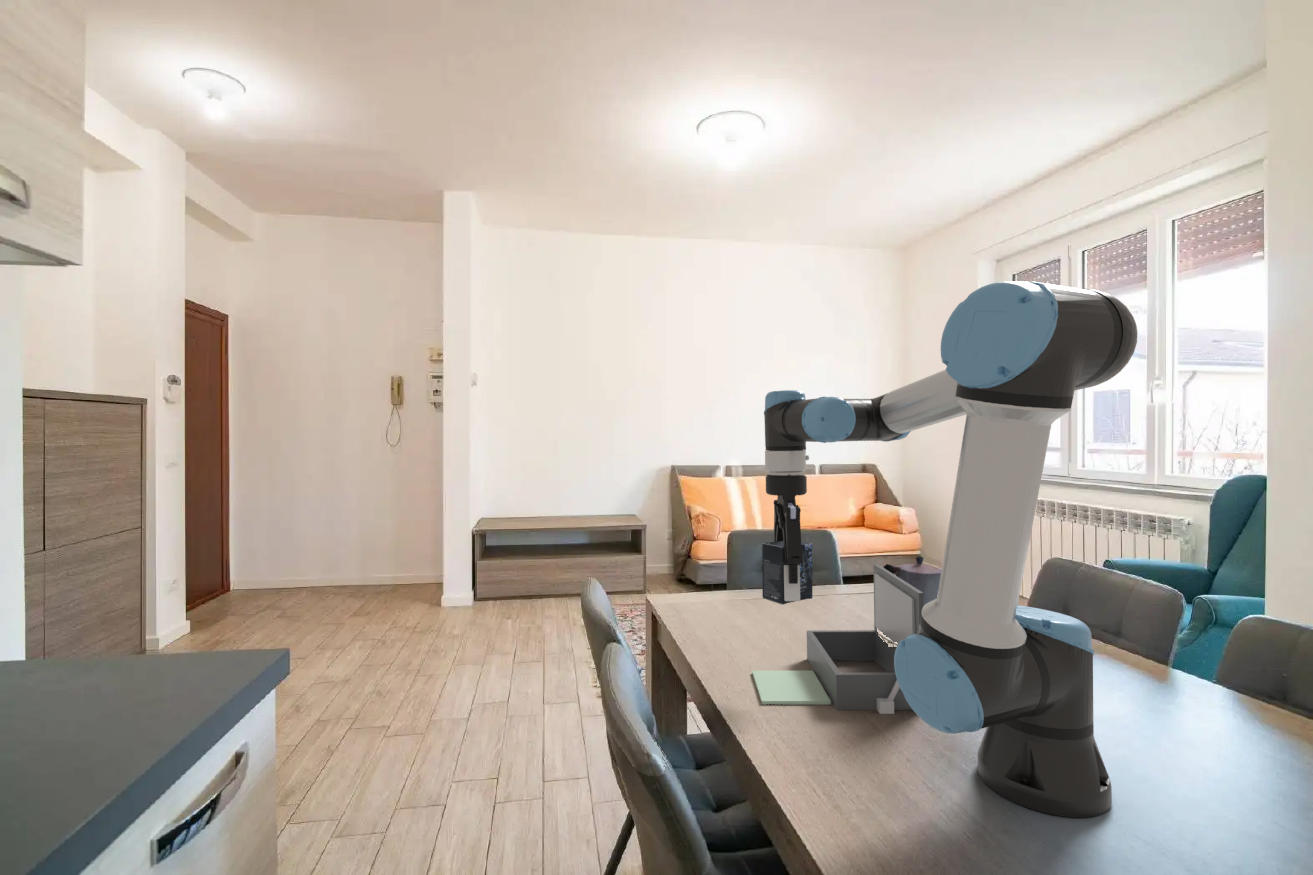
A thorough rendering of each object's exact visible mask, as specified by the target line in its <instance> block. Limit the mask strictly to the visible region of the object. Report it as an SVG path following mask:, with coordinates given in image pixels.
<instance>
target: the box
mask: <svg viewBox="0 0 1313 875" xmlns="http://www.w3.org/2000/svg"><path fill="white" fill-rule="evenodd" d="M801 546H802V559H803V562H802V564H800V601H803V600H804V601H805V600H810V599H813V542H807V541H802V540H801ZM791 557H796V556H791ZM782 561H785V552H784V541H776V542H774V541H770V542H762V588H761V589H762V590H761V591H762V595H761V596H762V599H765V600H766V601H769V602H772V603H776V604H778V605H786V604H791V603H795V602H796V601H785V600H784V565H782V564H781V562H782Z"/></svg>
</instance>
